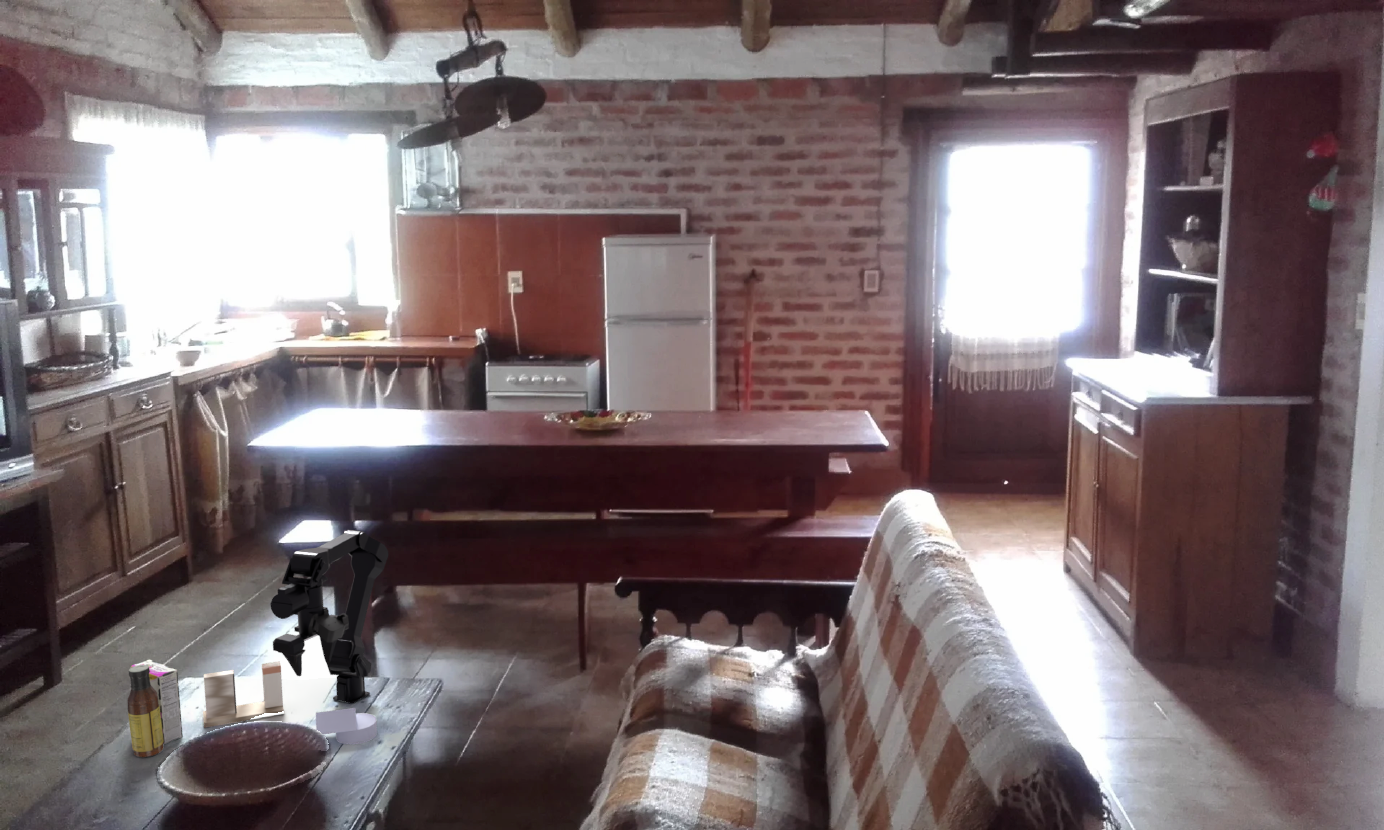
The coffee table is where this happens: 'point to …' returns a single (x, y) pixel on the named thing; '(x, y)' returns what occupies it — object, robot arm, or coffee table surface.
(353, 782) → the coffee table surface
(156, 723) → the sauce bottle
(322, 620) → the robot arm
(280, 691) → the white tall block
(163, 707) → the candy bar box
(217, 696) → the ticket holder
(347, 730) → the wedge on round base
